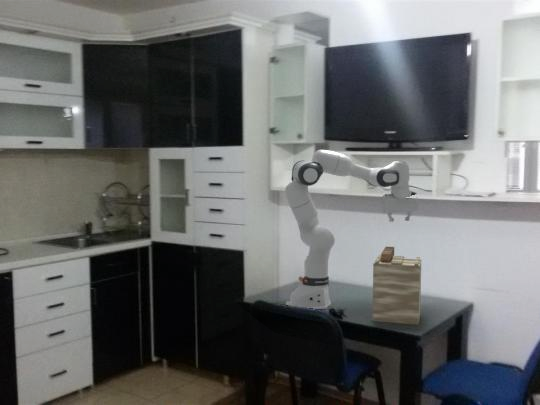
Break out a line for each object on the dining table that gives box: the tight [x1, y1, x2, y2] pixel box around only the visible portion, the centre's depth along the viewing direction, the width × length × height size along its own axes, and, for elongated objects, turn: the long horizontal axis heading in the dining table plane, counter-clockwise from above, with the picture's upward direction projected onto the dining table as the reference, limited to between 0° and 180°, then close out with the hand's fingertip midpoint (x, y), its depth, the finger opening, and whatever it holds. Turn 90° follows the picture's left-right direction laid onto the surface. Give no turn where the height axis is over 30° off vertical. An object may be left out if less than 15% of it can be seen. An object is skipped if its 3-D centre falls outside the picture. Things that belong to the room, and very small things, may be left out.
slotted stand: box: [371, 254, 422, 326], centre depth 255 cm, size 16×20×27 cm
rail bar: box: [380, 246, 395, 263], centre depth 261 cm, size 20×4×4 cm, turn 162°
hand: (399, 221), depth 280 cm, fingers open, 8 cm apart
